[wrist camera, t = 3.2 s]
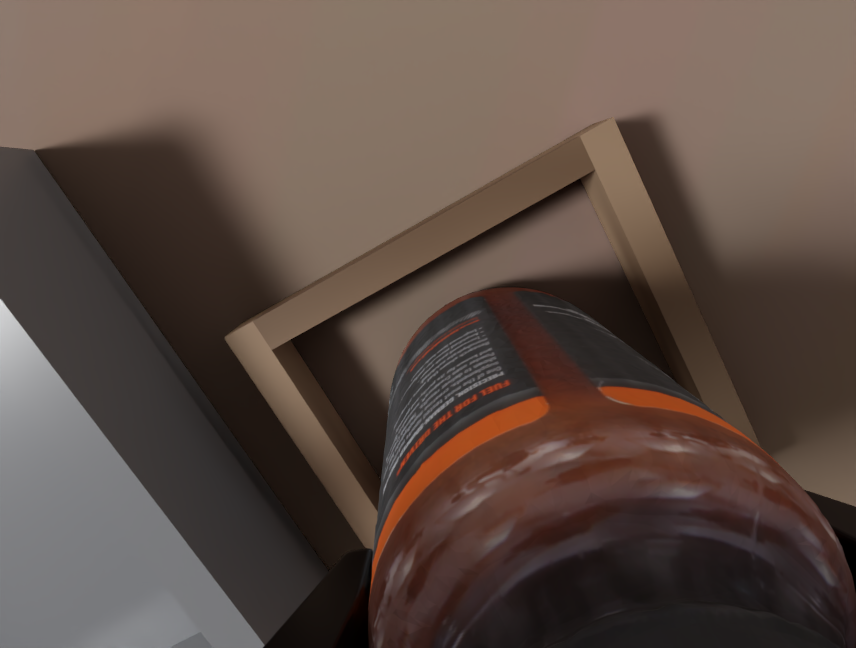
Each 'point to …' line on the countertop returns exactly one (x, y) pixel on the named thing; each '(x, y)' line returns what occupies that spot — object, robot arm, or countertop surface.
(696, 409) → the supplement bottle
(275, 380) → the tan wooden square frame
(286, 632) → the robot arm
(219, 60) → the countertop surface
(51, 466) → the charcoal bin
